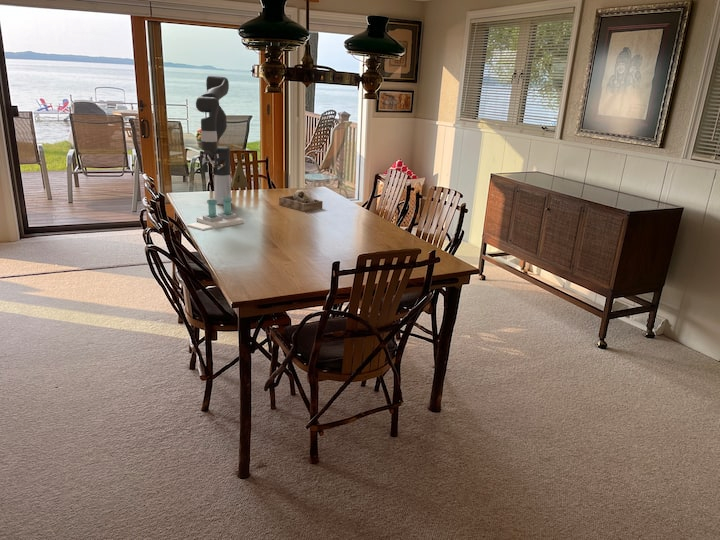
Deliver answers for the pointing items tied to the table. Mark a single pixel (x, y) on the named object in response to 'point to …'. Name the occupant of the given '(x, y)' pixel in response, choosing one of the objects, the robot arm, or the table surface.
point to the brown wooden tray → (300, 204)
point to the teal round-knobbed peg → (212, 207)
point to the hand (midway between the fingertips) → (210, 173)
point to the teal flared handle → (227, 205)
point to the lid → (199, 226)
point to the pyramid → (239, 178)
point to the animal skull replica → (303, 196)
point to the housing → (220, 220)
